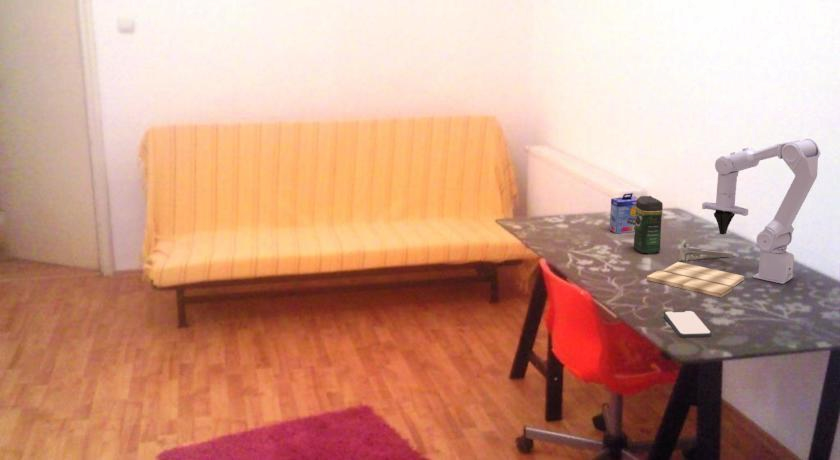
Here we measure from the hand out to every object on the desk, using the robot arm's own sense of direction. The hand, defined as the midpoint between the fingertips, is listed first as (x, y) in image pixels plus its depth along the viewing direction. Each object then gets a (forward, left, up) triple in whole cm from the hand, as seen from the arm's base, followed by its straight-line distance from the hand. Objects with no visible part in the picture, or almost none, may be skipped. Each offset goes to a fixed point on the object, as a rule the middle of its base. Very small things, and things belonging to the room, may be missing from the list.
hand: (722, 233), depth 287 cm
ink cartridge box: (+43, -13, -10) cm, 46 cm away
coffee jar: (+25, +3, -10) cm, 27 cm away
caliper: (+5, -1, -10) cm, 12 cm away
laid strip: (-2, +26, -10) cm, 28 cm away
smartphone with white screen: (-16, +56, -11) cm, 60 cm away
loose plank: (-2, +17, -10) cm, 20 cm away
